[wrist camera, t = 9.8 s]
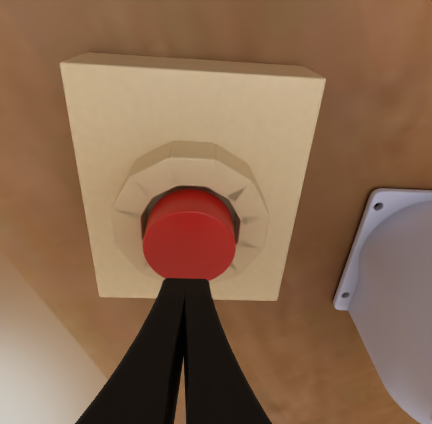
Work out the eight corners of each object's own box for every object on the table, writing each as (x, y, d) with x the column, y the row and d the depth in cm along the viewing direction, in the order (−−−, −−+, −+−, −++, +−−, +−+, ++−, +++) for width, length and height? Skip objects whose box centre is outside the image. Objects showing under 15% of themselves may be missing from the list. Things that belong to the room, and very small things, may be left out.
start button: (228, 258, 15) (231, 285, 14) (150, 256, 15) (144, 284, 14) (236, 190, 13) (240, 212, 12) (146, 186, 13) (139, 209, 12)
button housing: (268, 264, 22) (283, 327, 17) (112, 260, 21) (89, 324, 17) (305, 65, 15) (344, 88, 11) (85, 51, 15) (37, 69, 11)
